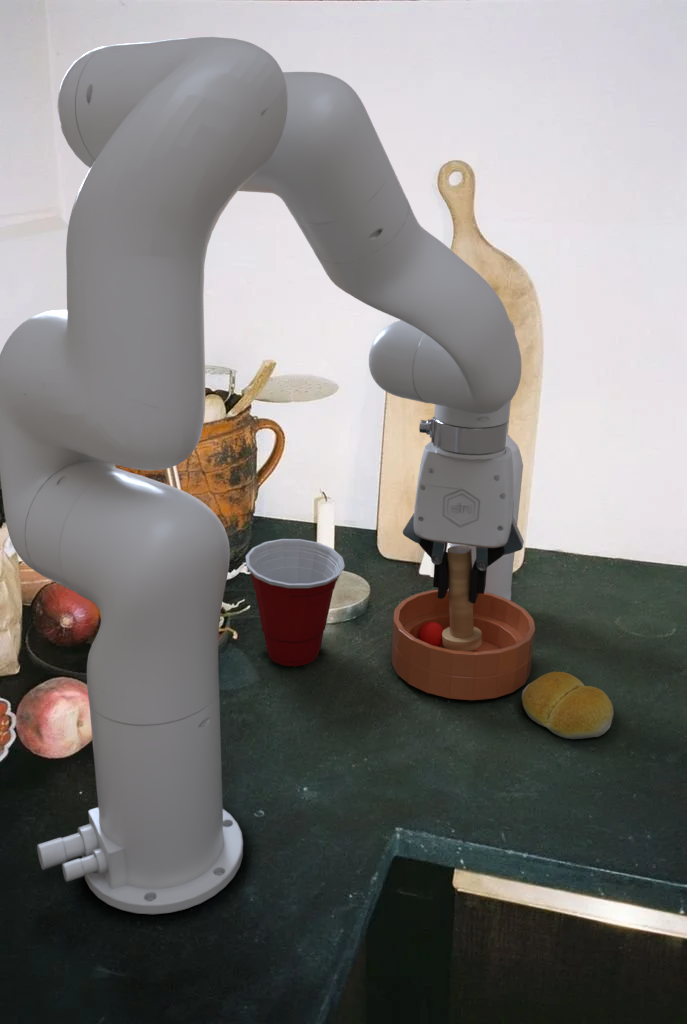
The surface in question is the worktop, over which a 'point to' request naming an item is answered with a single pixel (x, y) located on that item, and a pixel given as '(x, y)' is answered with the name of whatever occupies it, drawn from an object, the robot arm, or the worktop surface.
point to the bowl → (464, 672)
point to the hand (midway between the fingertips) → (458, 594)
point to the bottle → (503, 567)
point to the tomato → (431, 633)
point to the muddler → (460, 602)
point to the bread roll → (567, 706)
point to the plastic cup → (293, 595)
